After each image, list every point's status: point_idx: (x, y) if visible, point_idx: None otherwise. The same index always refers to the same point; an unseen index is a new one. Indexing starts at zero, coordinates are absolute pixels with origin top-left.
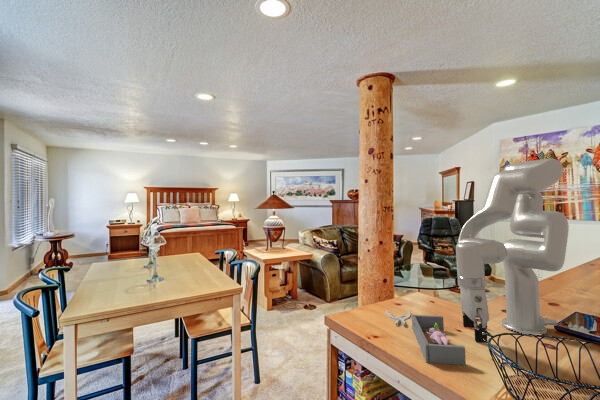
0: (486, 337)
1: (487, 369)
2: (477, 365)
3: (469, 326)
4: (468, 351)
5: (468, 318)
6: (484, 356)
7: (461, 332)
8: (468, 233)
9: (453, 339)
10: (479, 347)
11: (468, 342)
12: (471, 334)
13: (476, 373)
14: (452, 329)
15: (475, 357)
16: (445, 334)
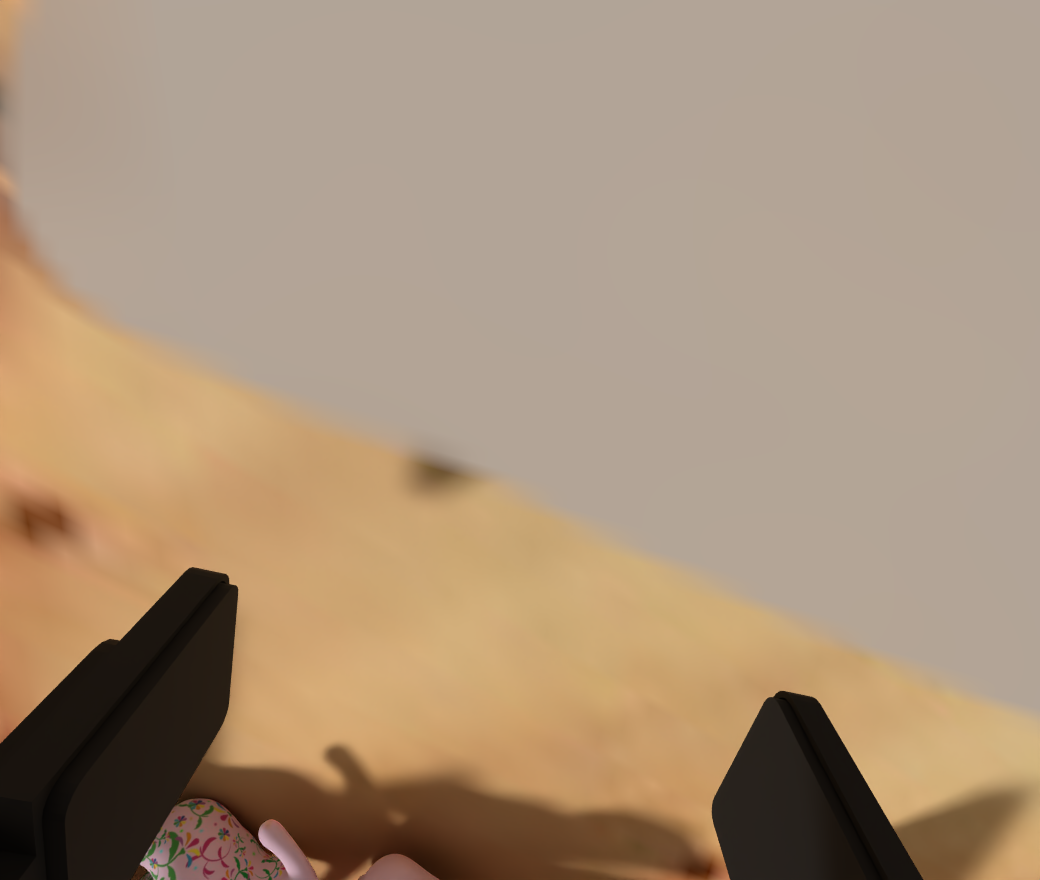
0: (857, 786)
1: (974, 740)
2: (881, 780)
3: (223, 663)
4: (612, 712)
5: (113, 837)
6: (750, 621)
7: (103, 522)
8: None
9: (319, 713)
10: (542, 547)
11: (402, 597)
12: (157, 422)
13: (987, 854)
14: (17, 585)
15: (744, 716)
16: (285, 834)
